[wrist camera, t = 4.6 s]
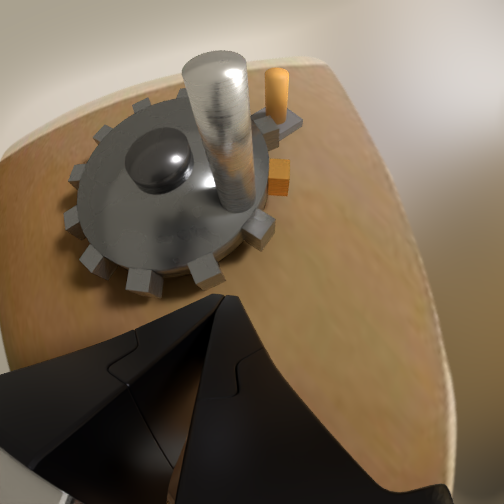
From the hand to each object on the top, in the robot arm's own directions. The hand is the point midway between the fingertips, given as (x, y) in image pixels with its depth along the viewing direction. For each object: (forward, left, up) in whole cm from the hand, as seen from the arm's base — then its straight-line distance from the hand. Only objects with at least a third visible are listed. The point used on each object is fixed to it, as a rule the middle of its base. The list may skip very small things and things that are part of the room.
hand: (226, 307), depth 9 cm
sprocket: (+9, +6, -7) cm, 12 cm away
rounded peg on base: (+15, -1, -8) cm, 17 cm away
